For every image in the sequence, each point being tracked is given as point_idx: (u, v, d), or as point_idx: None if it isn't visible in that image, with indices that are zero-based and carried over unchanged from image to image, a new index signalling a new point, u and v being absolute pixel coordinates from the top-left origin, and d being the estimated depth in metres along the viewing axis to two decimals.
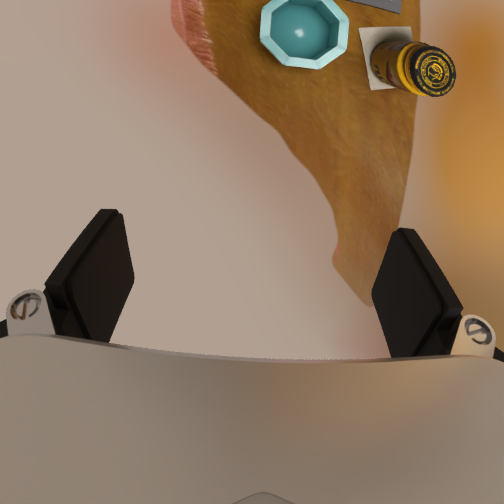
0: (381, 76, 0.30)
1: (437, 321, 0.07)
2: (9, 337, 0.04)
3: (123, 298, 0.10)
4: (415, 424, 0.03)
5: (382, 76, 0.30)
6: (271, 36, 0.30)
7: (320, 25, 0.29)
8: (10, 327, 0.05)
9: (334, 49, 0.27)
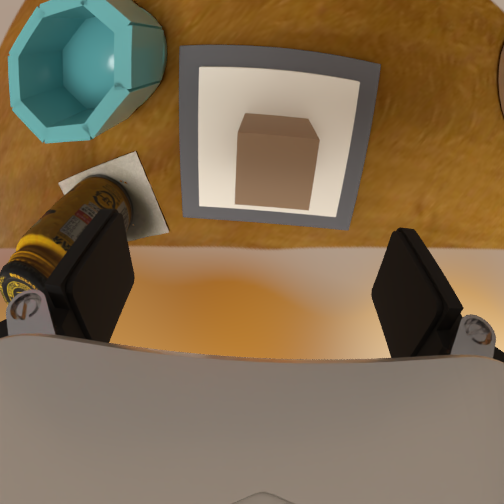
0: None
1: (437, 321, 0.07)
2: (9, 337, 0.04)
3: (123, 298, 0.10)
4: (415, 424, 0.03)
5: None
6: (90, 21, 0.15)
7: None
8: (10, 327, 0.05)
9: (40, 124, 0.14)
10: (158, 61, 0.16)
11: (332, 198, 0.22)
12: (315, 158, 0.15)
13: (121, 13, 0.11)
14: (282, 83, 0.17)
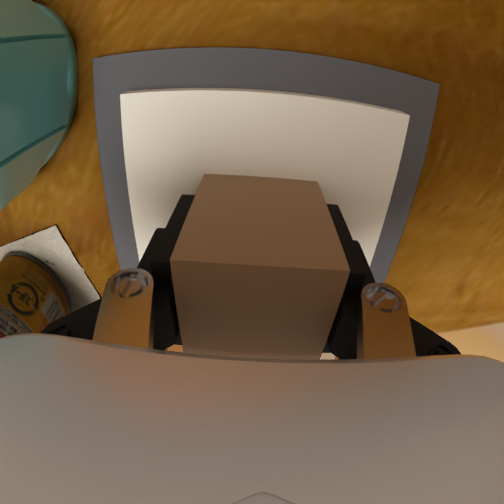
0: None
1: None
2: (9, 337, 0.04)
3: None
4: (415, 425, 0.03)
5: None
6: None
7: None
8: (104, 300, 0.07)
9: None
10: (56, 94, 0.08)
11: None
12: (336, 302, 0.07)
13: None
14: (271, 118, 0.10)
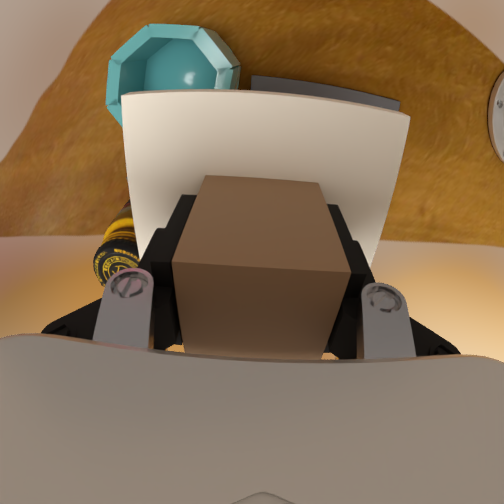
0: None
1: None
2: (9, 337, 0.04)
3: None
4: (415, 425, 0.03)
5: None
6: (177, 42, 0.21)
7: None
8: (105, 300, 0.07)
9: None
10: None
11: None
12: (337, 303, 0.07)
13: (225, 57, 0.17)
14: (272, 120, 0.10)
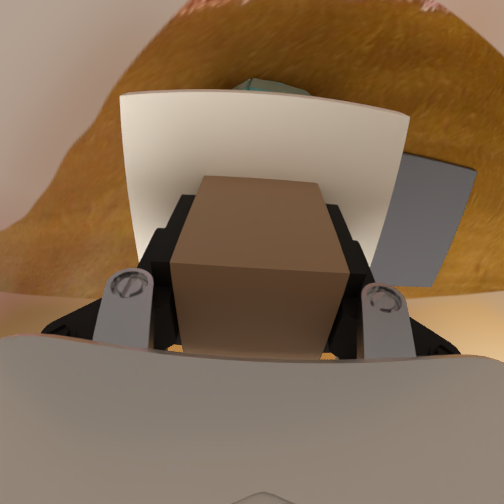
0: None
1: None
2: (9, 337, 0.04)
3: None
4: (414, 424, 0.03)
5: None
6: None
7: None
8: (105, 300, 0.07)
9: None
10: None
11: None
12: (336, 304, 0.07)
13: None
14: (271, 120, 0.10)
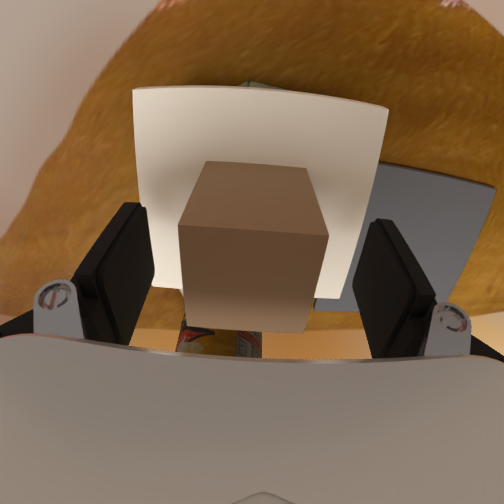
0: None
1: (410, 308, 0.07)
2: (9, 337, 0.04)
3: (145, 290, 0.11)
4: (415, 425, 0.03)
5: None
6: None
7: None
8: (36, 315, 0.06)
9: None
10: None
11: (336, 277, 0.16)
12: (319, 265, 0.09)
13: None
14: (265, 112, 0.11)
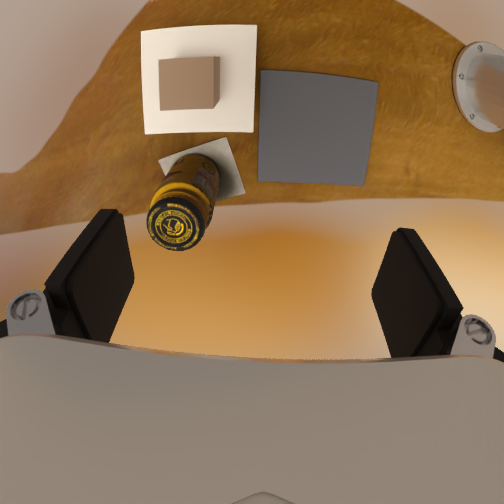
0: (171, 168, 0.33)
1: (437, 321, 0.07)
2: (9, 337, 0.04)
3: (123, 298, 0.10)
4: (414, 424, 0.03)
5: (170, 169, 0.32)
6: None
7: None
8: (10, 327, 0.05)
9: None
10: None
11: (247, 116, 0.26)
12: (212, 69, 0.19)
13: None
14: (199, 34, 0.21)
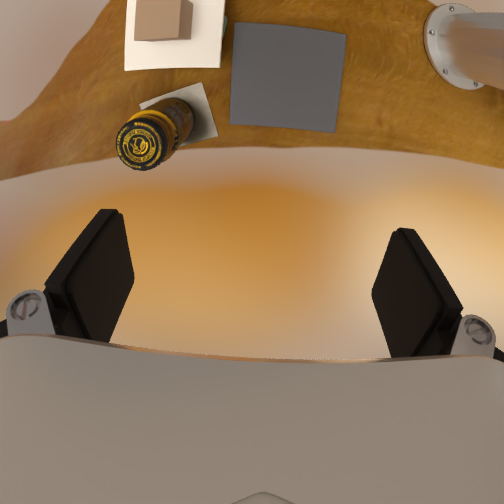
0: None
1: (437, 321, 0.07)
2: (9, 337, 0.04)
3: (123, 298, 0.10)
4: (415, 424, 0.03)
5: None
6: None
7: None
8: (10, 327, 0.05)
9: None
10: (222, 36, 0.29)
11: (214, 53, 0.26)
12: (179, 5, 0.19)
13: None
14: None
